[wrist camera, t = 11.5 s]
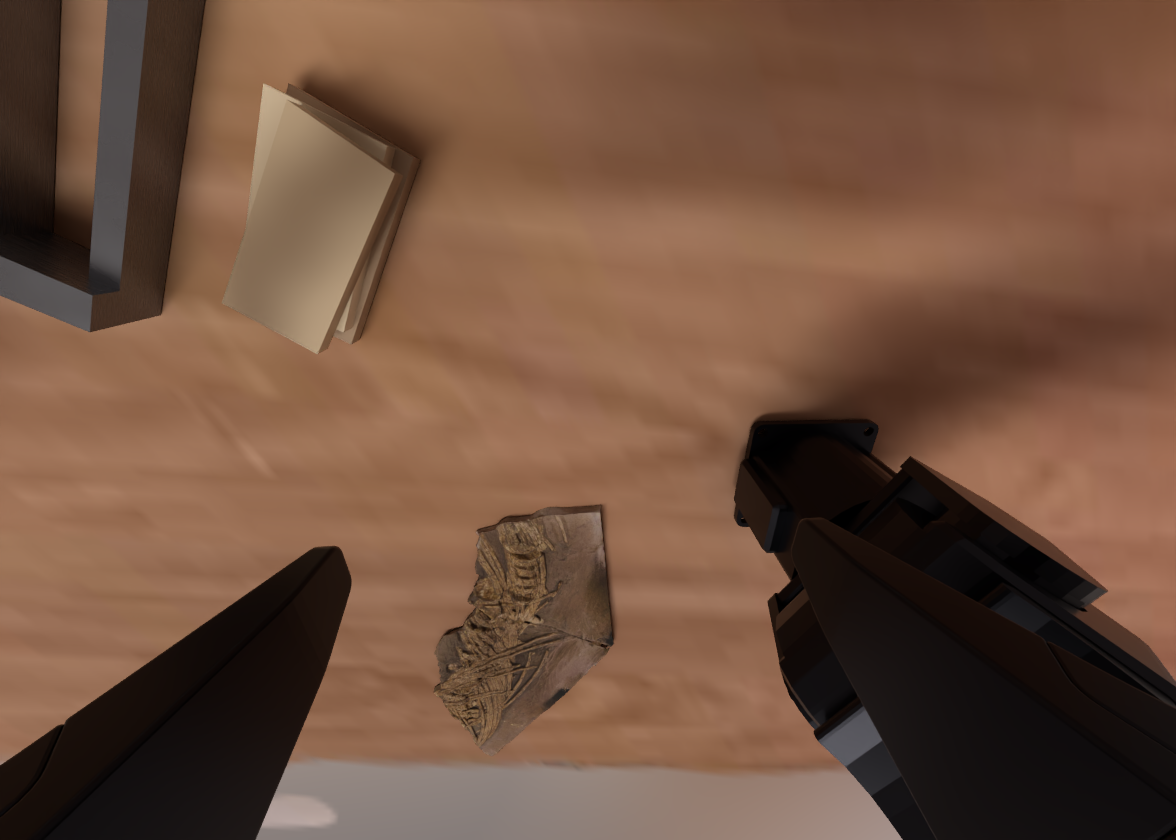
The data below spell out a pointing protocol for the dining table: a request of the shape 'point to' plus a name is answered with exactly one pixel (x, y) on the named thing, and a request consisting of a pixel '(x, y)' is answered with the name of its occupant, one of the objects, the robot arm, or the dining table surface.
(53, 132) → the slot rack
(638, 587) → the dining table surface
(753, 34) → the dining table surface
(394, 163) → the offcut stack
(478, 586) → the carved relief fragment
